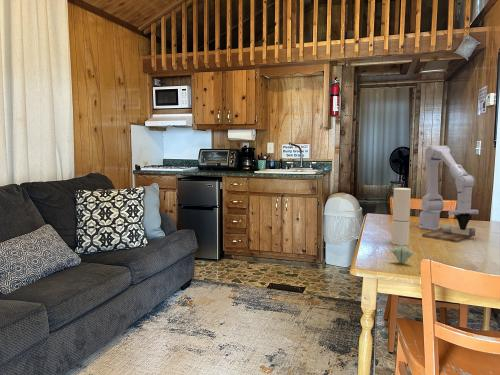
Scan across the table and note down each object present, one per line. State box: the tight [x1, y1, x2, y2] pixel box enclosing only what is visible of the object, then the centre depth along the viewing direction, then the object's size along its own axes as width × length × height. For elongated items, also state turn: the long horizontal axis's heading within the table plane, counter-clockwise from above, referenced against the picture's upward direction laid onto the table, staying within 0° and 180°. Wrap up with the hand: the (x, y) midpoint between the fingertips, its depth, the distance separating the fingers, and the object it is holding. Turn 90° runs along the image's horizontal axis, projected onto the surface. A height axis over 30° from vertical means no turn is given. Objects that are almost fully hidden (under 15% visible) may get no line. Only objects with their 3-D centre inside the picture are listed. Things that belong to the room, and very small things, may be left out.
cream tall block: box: [391, 187, 412, 246], centre depth 173 cm, size 7×7×25 cm
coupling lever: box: [442, 223, 476, 237], centre depth 185 cm, size 14×4×3 cm, turn 41°
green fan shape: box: [390, 245, 414, 265], centre depth 144 cm, size 8×4×7 cm, turn 57°
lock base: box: [421, 227, 472, 243], centre depth 188 cm, size 16×22×2 cm
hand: (462, 229), depth 181 cm, fingers closed
